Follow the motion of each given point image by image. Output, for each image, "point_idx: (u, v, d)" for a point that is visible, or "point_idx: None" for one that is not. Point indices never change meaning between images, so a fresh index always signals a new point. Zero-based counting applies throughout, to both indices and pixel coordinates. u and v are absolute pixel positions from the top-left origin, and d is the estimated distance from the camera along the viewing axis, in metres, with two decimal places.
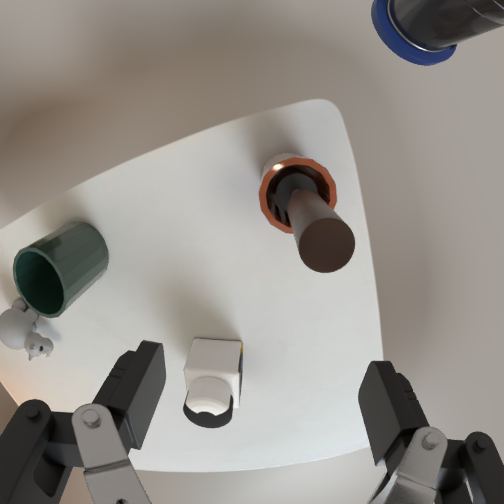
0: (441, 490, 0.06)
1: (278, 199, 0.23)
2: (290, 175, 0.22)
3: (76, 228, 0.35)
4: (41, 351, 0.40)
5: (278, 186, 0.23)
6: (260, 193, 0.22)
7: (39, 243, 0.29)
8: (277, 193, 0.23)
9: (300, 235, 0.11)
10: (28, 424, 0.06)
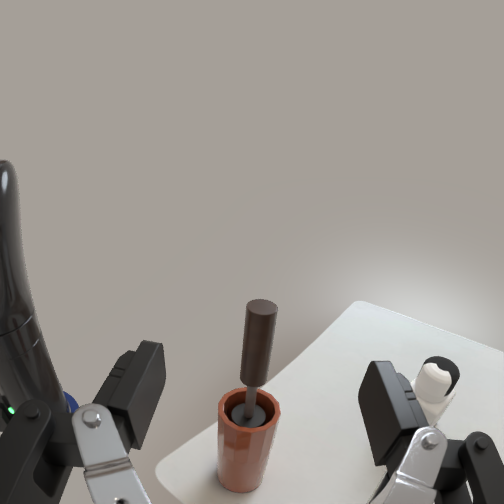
0: (441, 490, 0.06)
1: (261, 422, 0.25)
2: (238, 424, 0.24)
3: None
4: None
5: (252, 427, 0.24)
6: (265, 428, 0.23)
7: None
8: (257, 425, 0.24)
9: (266, 316, 0.20)
10: (28, 424, 0.06)
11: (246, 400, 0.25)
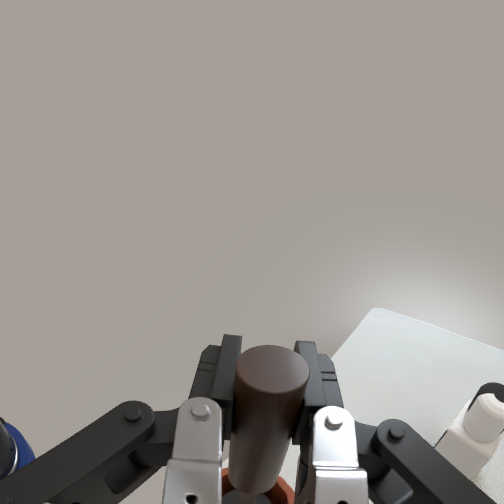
0: (368, 483, 0.07)
1: None
2: None
3: None
4: None
5: None
6: None
7: None
8: None
9: (285, 396, 0.08)
10: (123, 425, 0.07)
11: (241, 498, 0.12)
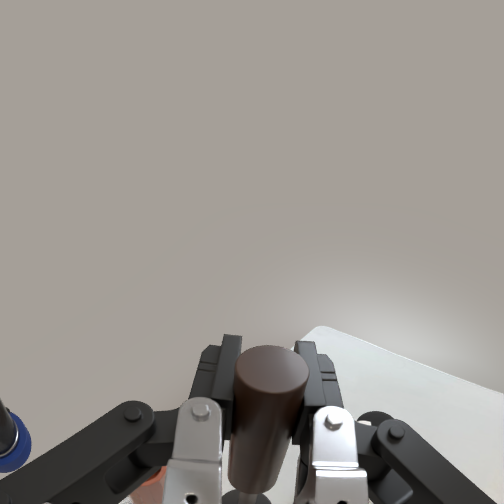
0: (368, 483, 0.07)
1: None
2: None
3: None
4: None
5: None
6: (147, 484, 0.20)
7: None
8: None
9: (284, 396, 0.08)
10: (123, 425, 0.07)
11: (240, 498, 0.12)
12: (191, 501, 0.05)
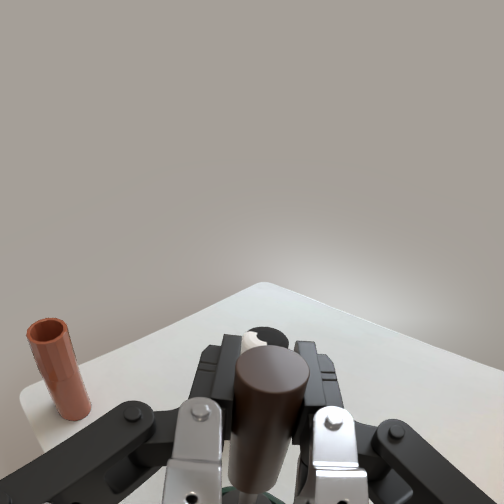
0: (368, 483, 0.07)
1: None
2: None
3: None
4: None
5: None
6: (45, 343, 0.28)
7: None
8: None
9: (285, 396, 0.08)
10: (123, 424, 0.07)
11: (241, 498, 0.12)
12: (191, 501, 0.05)
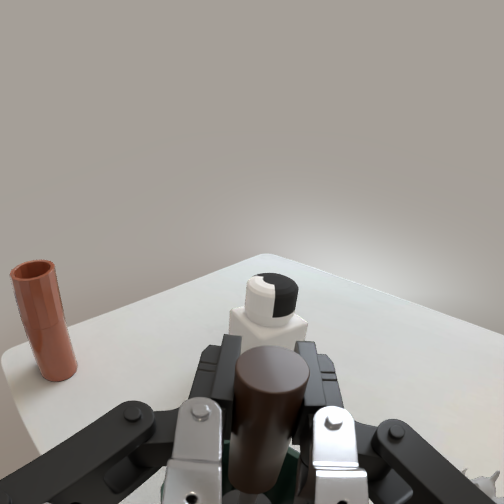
0: (368, 483, 0.07)
1: None
2: None
3: None
4: None
5: None
6: (28, 279, 0.25)
7: None
8: None
9: (285, 396, 0.08)
10: (123, 425, 0.07)
11: (241, 498, 0.12)
12: (191, 501, 0.05)
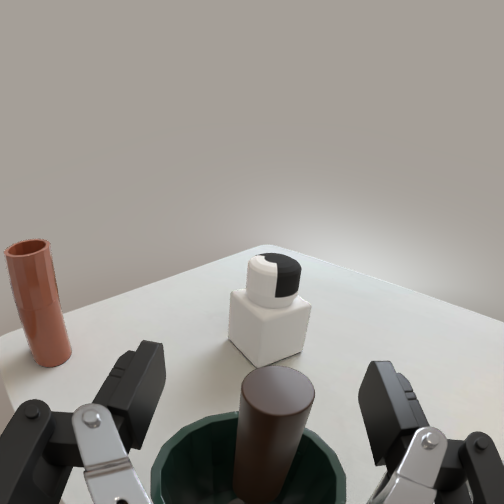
0: (441, 490, 0.06)
1: None
2: None
3: None
4: None
5: None
6: (22, 256, 0.24)
7: None
8: None
9: (290, 418, 0.07)
10: (28, 424, 0.06)
11: None
12: None
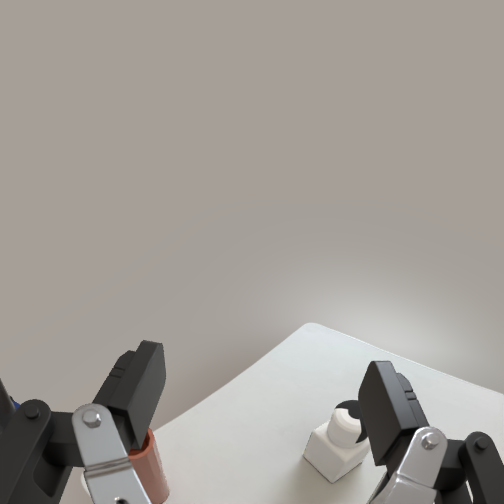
0: (441, 490, 0.06)
1: None
2: None
3: None
4: None
5: None
6: (135, 458, 0.23)
7: None
8: None
9: None
10: (28, 424, 0.06)
11: None
12: None
